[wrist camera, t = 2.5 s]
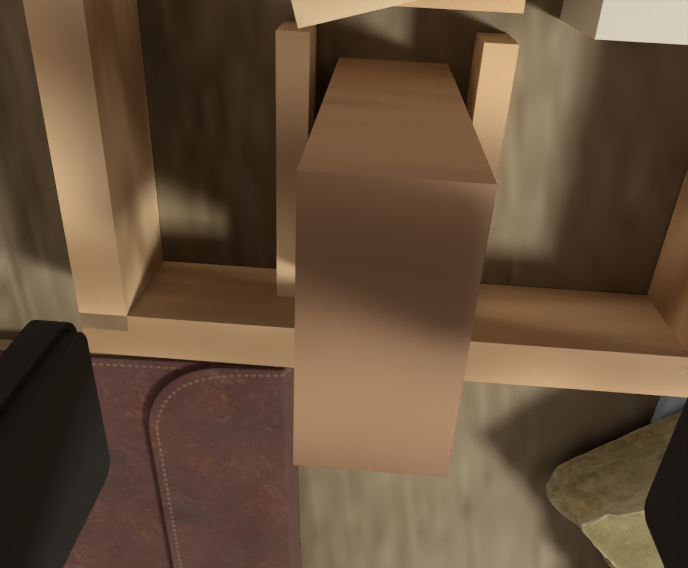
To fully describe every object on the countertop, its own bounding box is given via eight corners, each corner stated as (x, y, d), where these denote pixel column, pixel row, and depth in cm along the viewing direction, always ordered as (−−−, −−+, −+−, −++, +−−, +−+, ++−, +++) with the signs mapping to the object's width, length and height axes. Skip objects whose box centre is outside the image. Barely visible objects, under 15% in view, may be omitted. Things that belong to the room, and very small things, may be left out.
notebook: (47, 614, 38) (30, 648, 36) (-52, 328, 28) (-81, 355, 26) (305, 631, 37) (301, 666, 35) (296, 343, 27) (290, 372, 25)
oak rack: (677, 333, 25) (723, 400, 22) (127, 293, 26) (86, 352, 22) (910, -316, 16) (1056, -383, 12) (39, -351, 16) (-54, -425, 13)
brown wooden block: (424, 257, 24) (447, 477, 15) (331, 251, 24) (293, 464, 15) (448, 63, 21) (496, 184, 11) (339, 56, 21) (296, 170, 11)
